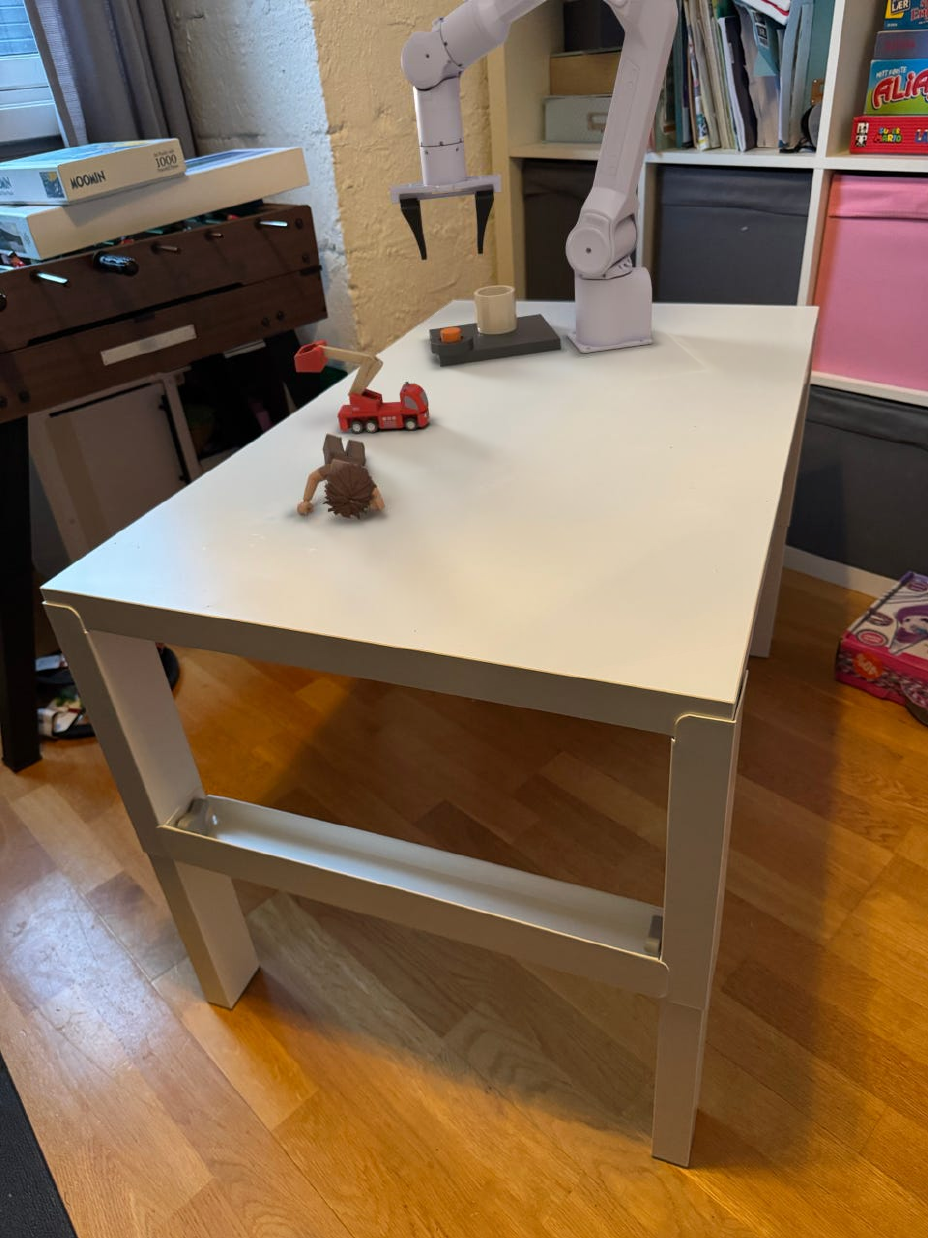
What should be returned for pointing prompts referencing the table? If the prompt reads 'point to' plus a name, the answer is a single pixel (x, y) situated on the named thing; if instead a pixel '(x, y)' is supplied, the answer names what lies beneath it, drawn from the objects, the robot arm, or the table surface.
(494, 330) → the small cup
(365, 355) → the toy fire truck
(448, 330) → the button
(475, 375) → the table surface
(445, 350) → the scale
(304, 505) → the figurine
